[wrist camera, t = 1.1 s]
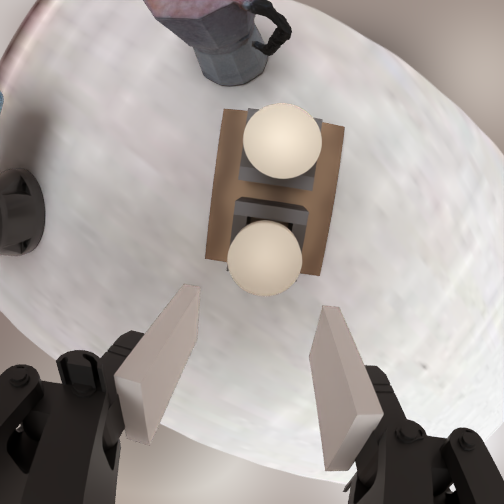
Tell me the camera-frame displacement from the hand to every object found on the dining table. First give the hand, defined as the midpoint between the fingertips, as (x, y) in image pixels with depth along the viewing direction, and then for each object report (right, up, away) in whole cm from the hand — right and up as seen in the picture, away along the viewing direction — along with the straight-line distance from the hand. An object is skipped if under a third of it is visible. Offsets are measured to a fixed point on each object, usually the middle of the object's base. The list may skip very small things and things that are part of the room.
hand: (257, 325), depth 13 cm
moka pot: (-2, +28, +19) cm, 34 cm away
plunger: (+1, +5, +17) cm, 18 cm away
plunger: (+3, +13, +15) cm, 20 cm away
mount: (+2, +11, +23) cm, 25 cm away
